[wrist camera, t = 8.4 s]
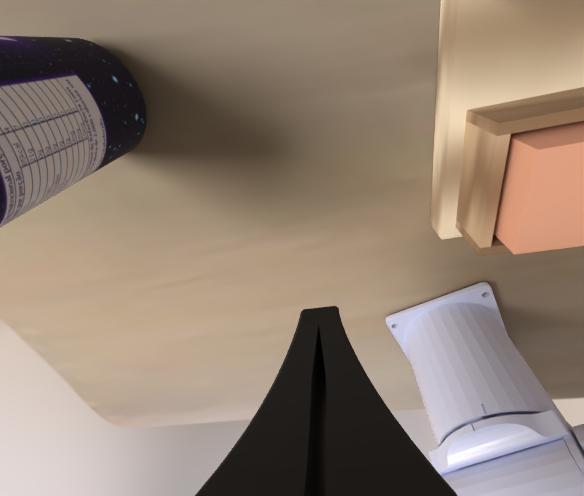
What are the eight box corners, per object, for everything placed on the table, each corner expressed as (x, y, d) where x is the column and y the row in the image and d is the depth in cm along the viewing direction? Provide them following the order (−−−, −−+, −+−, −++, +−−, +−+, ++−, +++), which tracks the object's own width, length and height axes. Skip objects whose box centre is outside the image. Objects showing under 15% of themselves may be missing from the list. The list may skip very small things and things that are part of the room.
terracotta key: (583, 208, 16) (634, 239, 13) (483, 222, 16) (513, 254, 14) (617, 108, 13) (690, 123, 11) (497, 130, 14) (538, 149, 11)
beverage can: (98, 13, 15) (-336, -52, 5) (174, 123, 18) (-6, 226, 8) (25, 75, 17) (-411, 121, 7) (104, 167, 19) (-118, 300, 9)
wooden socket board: (565, 203, 19) (636, 248, 15) (430, 223, 20) (461, 269, 16) (745, -385, 9) (1127, -762, 5) (453, -275, 10) (555, -499, 6)
